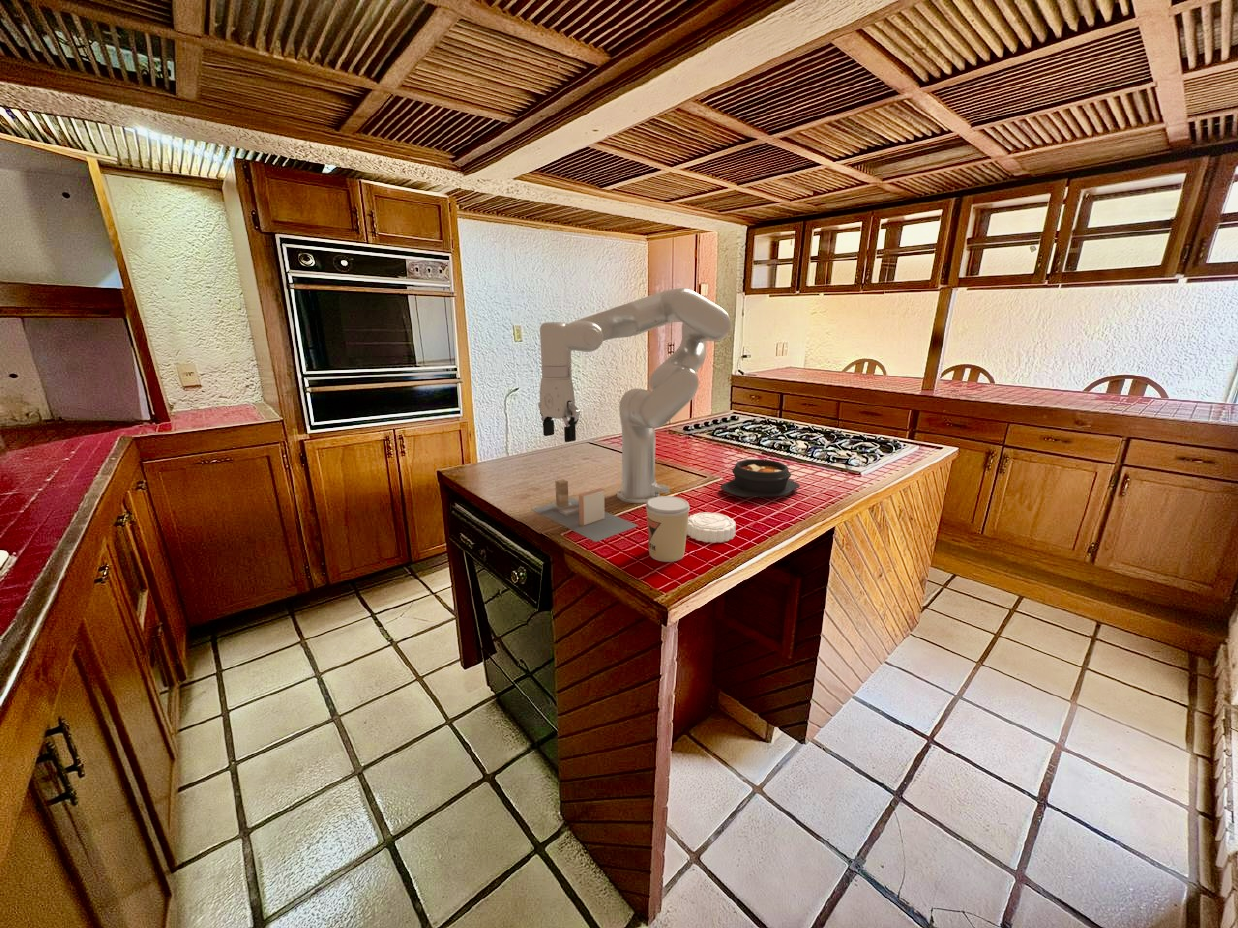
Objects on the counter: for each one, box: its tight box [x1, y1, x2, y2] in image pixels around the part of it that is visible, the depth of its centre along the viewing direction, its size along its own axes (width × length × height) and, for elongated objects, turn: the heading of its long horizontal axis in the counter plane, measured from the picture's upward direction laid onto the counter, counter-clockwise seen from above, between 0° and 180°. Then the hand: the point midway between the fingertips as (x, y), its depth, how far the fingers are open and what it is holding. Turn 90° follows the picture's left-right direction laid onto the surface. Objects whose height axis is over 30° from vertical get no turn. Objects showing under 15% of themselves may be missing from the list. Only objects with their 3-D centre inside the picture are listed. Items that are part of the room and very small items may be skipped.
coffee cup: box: [645, 495, 690, 563], centre depth 104 cm, size 9×9×12 cm
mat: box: [531, 497, 639, 543], centre depth 126 cm, size 28×14×1 cm, turn 42°
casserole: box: [719, 458, 801, 499], centre depth 144 cm, size 25×19×8 cm
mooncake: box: [686, 511, 737, 544], centre depth 116 cm, size 12×12×4 cm
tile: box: [578, 488, 606, 526], centre depth 122 cm, size 2×7×8 cm, turn 132°
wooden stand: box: [552, 478, 579, 516], centre depth 130 cm, size 7×5×8 cm
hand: (559, 438), depth 127 cm, fingers open, 9 cm apart
